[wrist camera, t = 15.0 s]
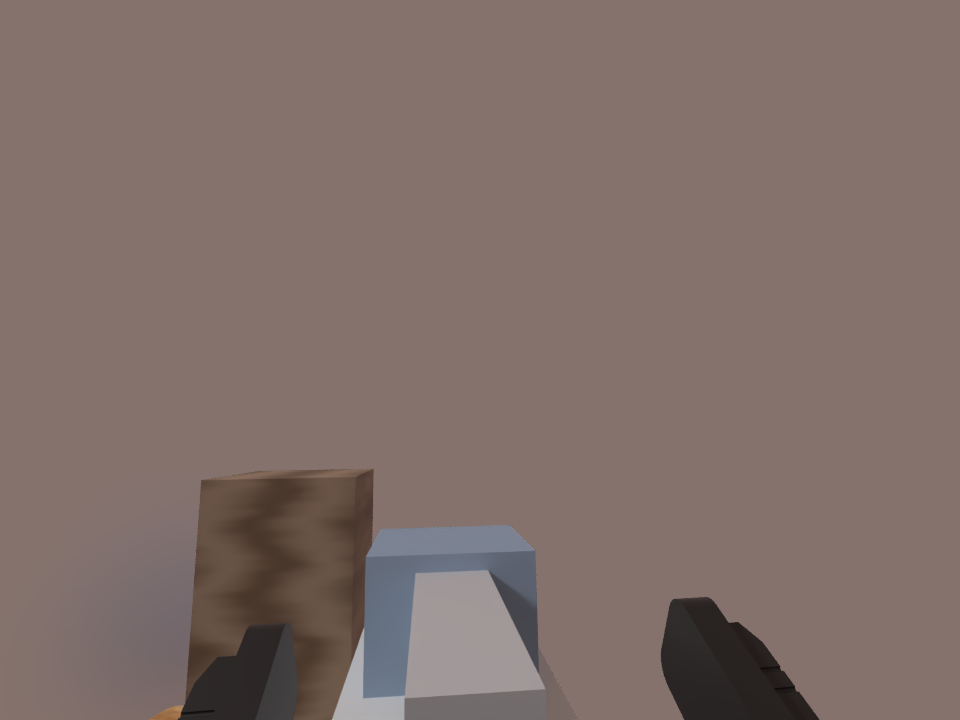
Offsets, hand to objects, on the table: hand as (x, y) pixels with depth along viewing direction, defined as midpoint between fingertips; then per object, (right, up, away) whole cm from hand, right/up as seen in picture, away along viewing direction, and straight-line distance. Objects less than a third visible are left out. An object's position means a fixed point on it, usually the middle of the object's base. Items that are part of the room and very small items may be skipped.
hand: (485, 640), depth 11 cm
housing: (-1, -9, +10) cm, 14 cm away
